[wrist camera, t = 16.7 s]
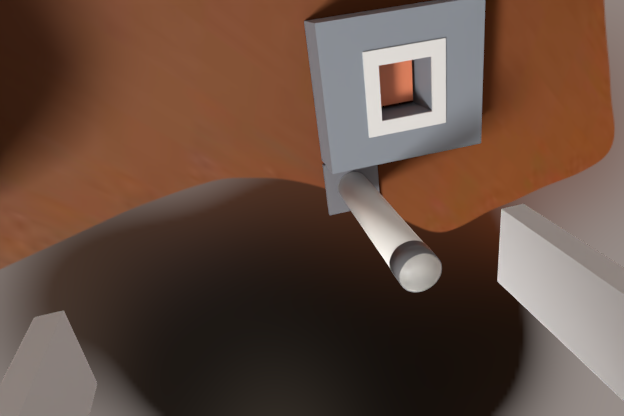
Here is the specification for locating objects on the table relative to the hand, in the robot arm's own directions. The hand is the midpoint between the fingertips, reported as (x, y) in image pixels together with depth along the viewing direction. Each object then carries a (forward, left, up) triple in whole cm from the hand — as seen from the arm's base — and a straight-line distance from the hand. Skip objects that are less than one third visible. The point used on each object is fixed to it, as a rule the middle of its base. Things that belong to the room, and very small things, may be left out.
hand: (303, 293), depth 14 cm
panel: (+16, -2, -35) cm, 38 cm away
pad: (+11, -13, -35) cm, 38 cm away
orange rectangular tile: (+16, -2, -35) cm, 38 cm away
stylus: (+11, -13, -34) cm, 38 cm away
